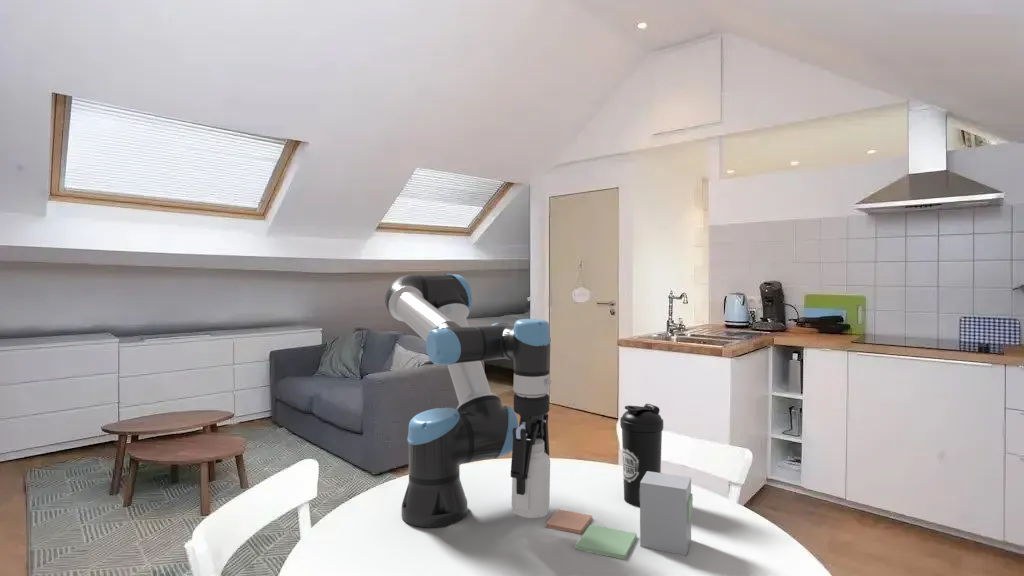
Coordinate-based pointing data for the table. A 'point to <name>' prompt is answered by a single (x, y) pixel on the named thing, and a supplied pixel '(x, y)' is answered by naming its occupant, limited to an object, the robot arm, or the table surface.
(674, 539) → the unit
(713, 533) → the table surface
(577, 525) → the terracotta pad
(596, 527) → the green pad
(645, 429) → the water bottle
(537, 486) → the pill bottle
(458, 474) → the robot arm
